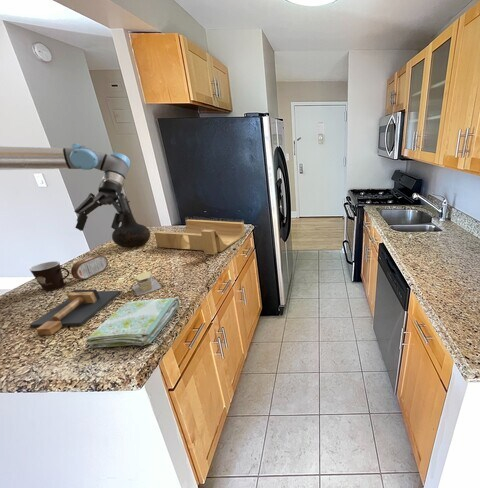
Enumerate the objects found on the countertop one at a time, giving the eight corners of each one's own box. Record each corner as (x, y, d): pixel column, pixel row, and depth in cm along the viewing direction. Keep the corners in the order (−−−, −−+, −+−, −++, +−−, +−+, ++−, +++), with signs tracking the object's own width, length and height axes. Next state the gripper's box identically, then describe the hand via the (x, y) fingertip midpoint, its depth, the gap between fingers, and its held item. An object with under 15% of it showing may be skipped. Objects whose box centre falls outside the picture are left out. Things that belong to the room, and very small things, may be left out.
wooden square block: (38, 335, 83) (35, 329, 82) (50, 326, 87) (47, 321, 86) (52, 334, 83) (49, 328, 82) (63, 326, 87) (60, 320, 86)
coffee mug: (35, 290, 108) (24, 268, 104) (60, 280, 115) (51, 260, 111) (51, 295, 104) (41, 273, 100) (77, 285, 111) (68, 264, 108)
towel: (85, 351, 77) (79, 337, 75) (131, 308, 96) (127, 296, 94) (149, 348, 77) (144, 335, 76) (181, 306, 97) (178, 294, 95)
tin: (105, 267, 127) (100, 251, 124) (111, 267, 127) (105, 251, 124) (74, 282, 113) (67, 265, 110) (80, 283, 113) (73, 265, 110)
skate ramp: (245, 236, 170) (242, 212, 164) (214, 257, 137) (210, 228, 132) (190, 232, 176) (186, 209, 171) (148, 252, 144) (142, 224, 138)
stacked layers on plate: (162, 287, 110) (159, 276, 107) (137, 296, 104) (133, 284, 102) (155, 279, 116) (152, 268, 114) (131, 286, 110) (128, 275, 108)
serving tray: (30, 327, 86) (29, 324, 86) (79, 294, 105) (78, 291, 104) (81, 325, 87) (80, 322, 87) (121, 293, 106) (120, 290, 105)
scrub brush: (78, 298, 100) (45, 324, 87) (73, 289, 98) (39, 315, 85) (100, 297, 100) (70, 323, 88) (96, 289, 98) (65, 314, 86)
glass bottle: (108, 249, 148) (91, 200, 137) (137, 238, 164) (124, 194, 153) (132, 253, 143) (116, 203, 132) (159, 241, 159) (148, 196, 148)
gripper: (146, 190, 117) (134, 232, 108) (88, 190, 115) (72, 233, 107) (136, 179, 110) (122, 224, 101) (74, 180, 108) (55, 225, 100)
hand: (96, 229), depth 104 cm, fingers open, 13 cm apart
